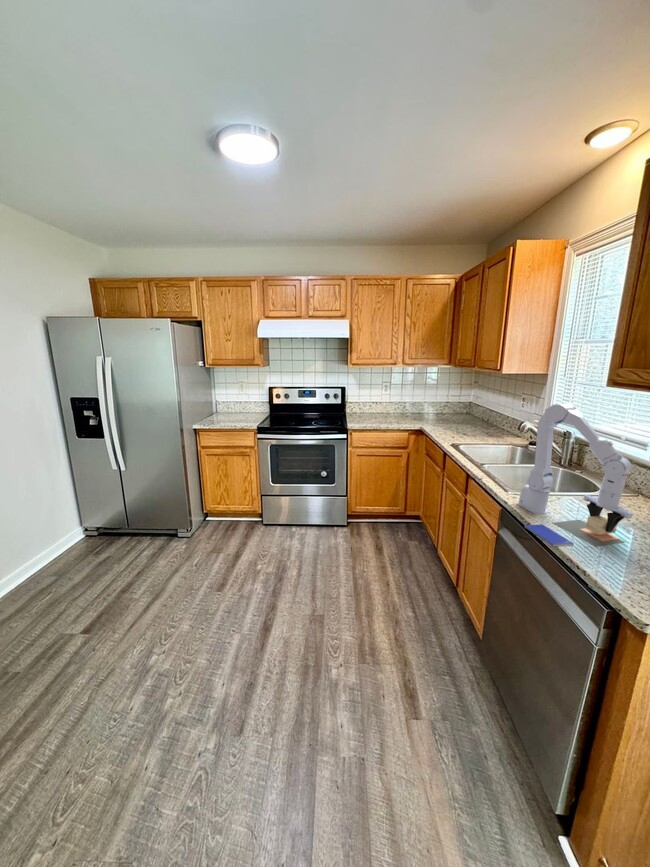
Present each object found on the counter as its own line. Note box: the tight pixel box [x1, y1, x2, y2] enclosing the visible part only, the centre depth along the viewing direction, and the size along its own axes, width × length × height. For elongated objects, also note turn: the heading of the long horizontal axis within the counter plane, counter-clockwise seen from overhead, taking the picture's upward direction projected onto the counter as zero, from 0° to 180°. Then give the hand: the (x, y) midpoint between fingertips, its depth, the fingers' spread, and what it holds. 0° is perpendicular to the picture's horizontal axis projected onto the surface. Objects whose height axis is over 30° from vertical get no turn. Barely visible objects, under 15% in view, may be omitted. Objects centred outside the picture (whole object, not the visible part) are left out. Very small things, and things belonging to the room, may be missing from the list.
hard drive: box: [524, 524, 575, 547], centre depth 115 cm, size 2×8×12 cm
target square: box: [580, 528, 620, 541], centre depth 117 cm, size 8×8×1 cm
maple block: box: [585, 514, 618, 535], centre depth 116 cm, size 8×4×4 cm, turn 105°
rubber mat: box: [552, 519, 626, 547], centre depth 118 cm, size 16×14×1 cm
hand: (600, 527), depth 117 cm, fingers closed on maple block, 4 cm apart
